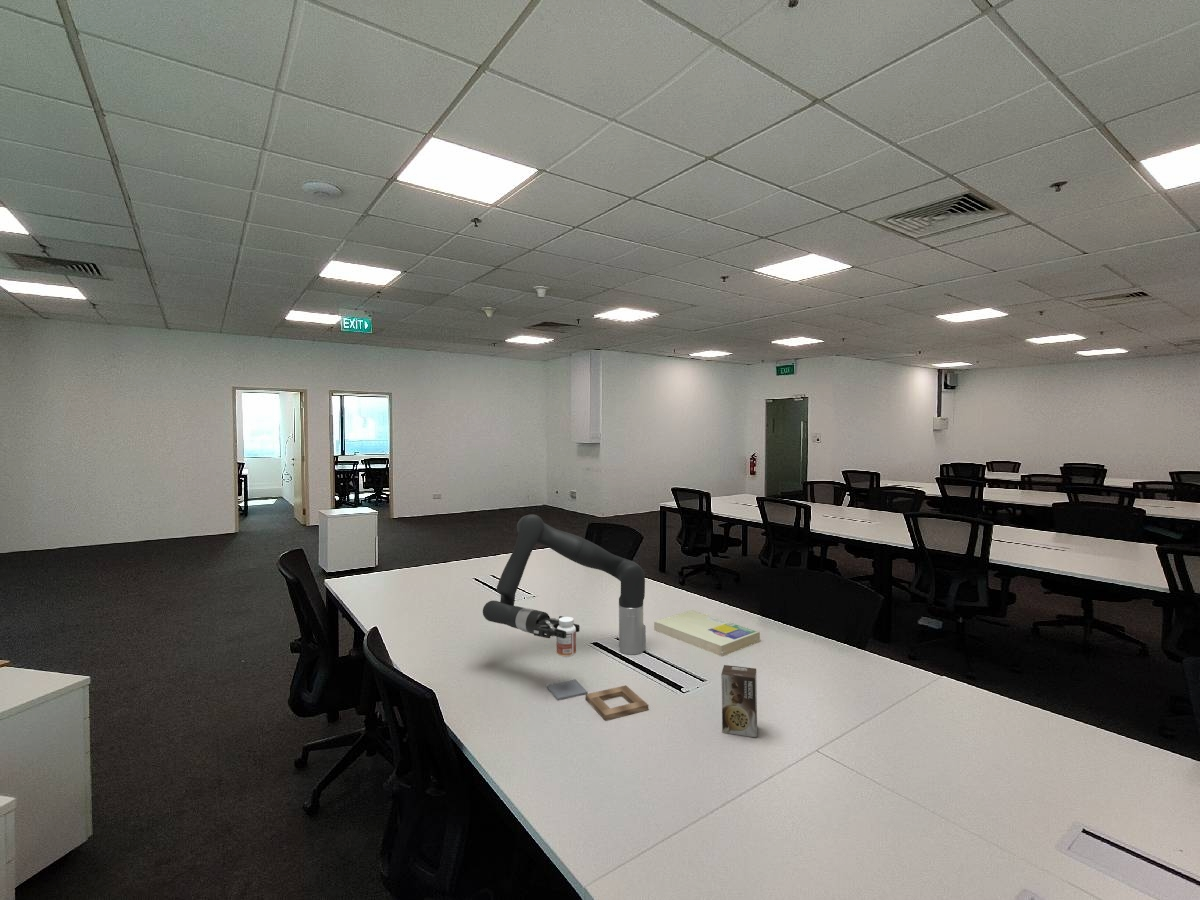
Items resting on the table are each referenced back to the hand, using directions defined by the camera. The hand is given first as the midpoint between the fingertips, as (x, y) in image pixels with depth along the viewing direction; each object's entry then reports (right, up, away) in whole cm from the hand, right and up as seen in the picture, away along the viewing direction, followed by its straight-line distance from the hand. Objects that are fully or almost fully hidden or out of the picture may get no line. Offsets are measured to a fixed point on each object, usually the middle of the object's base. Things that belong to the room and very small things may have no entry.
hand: (572, 631), depth 167 cm
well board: (+14, -19, -8) cm, 25 cm away
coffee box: (+47, -19, -22) cm, 55 cm away
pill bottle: (-2, -8, +1) cm, 8 cm away
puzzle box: (+52, -19, +49) cm, 74 cm away
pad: (-2, -19, +2) cm, 19 cm away
